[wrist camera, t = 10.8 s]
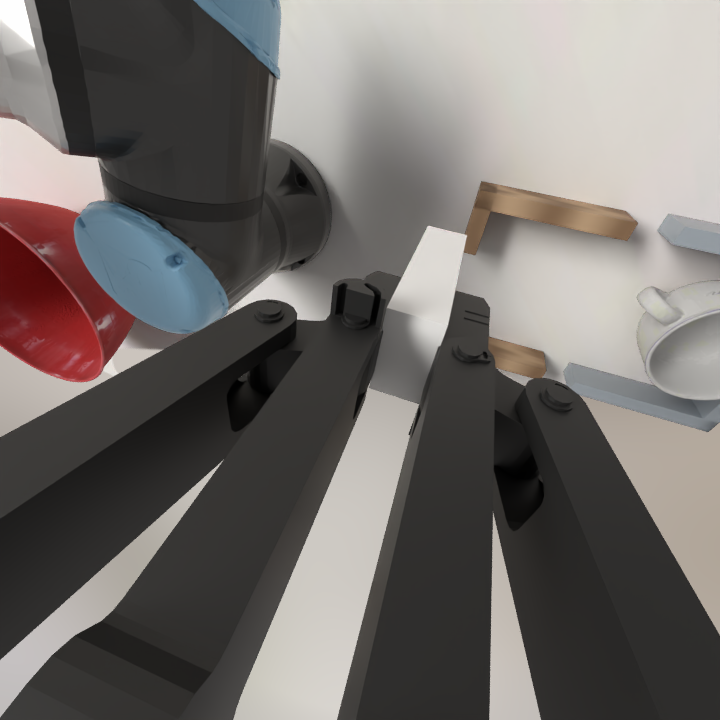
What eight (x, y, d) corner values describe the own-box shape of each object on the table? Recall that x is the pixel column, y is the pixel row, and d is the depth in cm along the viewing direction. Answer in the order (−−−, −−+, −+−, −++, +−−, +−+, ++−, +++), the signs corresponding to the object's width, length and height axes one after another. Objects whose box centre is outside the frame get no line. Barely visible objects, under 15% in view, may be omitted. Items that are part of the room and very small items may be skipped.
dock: (563, 371, 46) (567, 391, 43) (668, 213, 33) (685, 226, 30) (693, 408, 44) (708, 432, 41) (861, 253, 31) (900, 271, 28)
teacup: (777, 323, 36) (833, 371, 30) (656, 372, 43) (681, 419, 37) (708, 221, 33) (755, 252, 27) (589, 291, 40) (605, 328, 34)
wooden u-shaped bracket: (433, 332, 49) (429, 348, 46) (481, 181, 36) (479, 189, 33) (537, 361, 47) (540, 380, 44) (626, 211, 34) (638, 223, 31)
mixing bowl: (196, 345, 66) (131, 401, 54) (78, 319, 72) (-3, 364, 61) (140, 177, 48) (26, 206, 37) (-9, 163, 55) (-146, 184, 43)
